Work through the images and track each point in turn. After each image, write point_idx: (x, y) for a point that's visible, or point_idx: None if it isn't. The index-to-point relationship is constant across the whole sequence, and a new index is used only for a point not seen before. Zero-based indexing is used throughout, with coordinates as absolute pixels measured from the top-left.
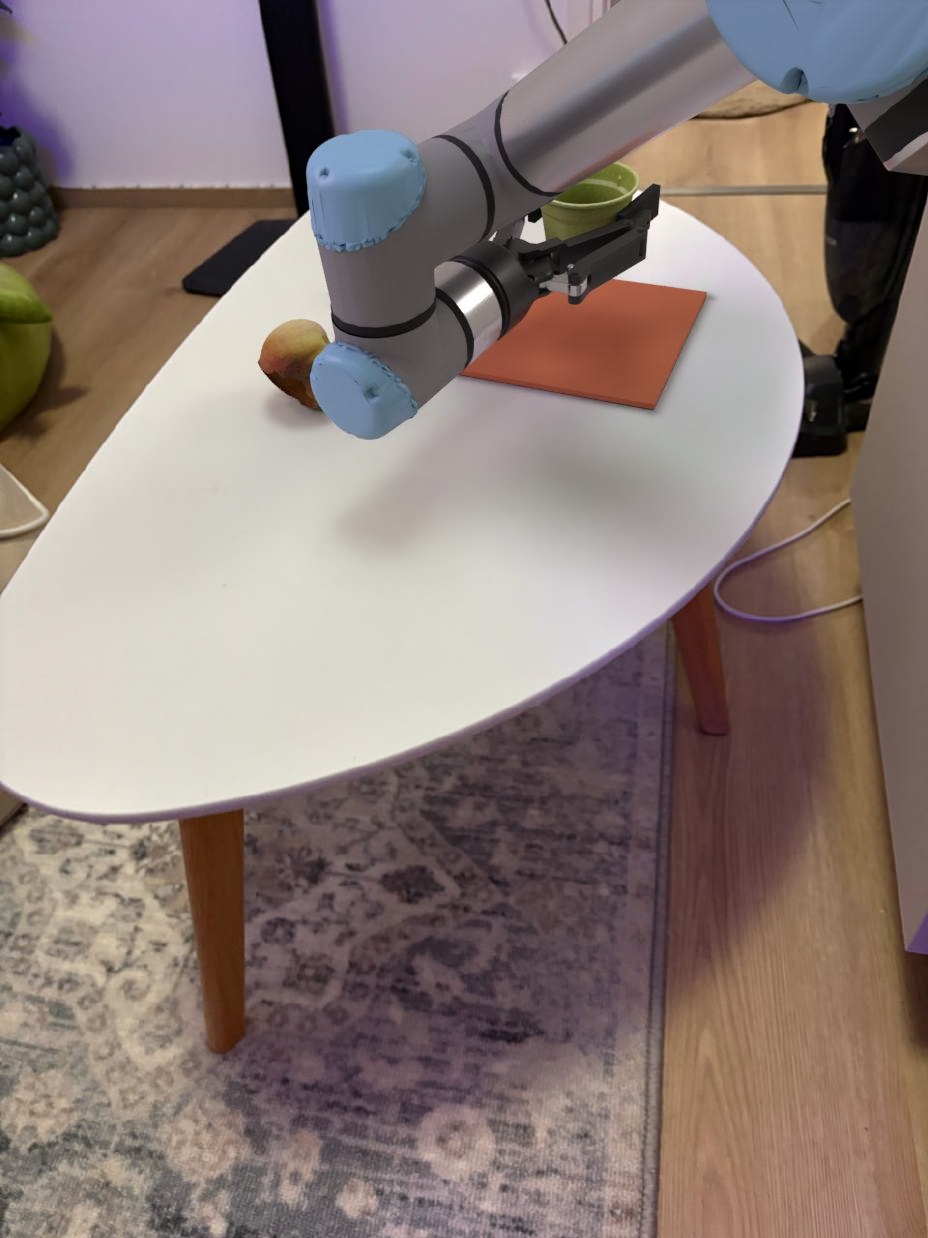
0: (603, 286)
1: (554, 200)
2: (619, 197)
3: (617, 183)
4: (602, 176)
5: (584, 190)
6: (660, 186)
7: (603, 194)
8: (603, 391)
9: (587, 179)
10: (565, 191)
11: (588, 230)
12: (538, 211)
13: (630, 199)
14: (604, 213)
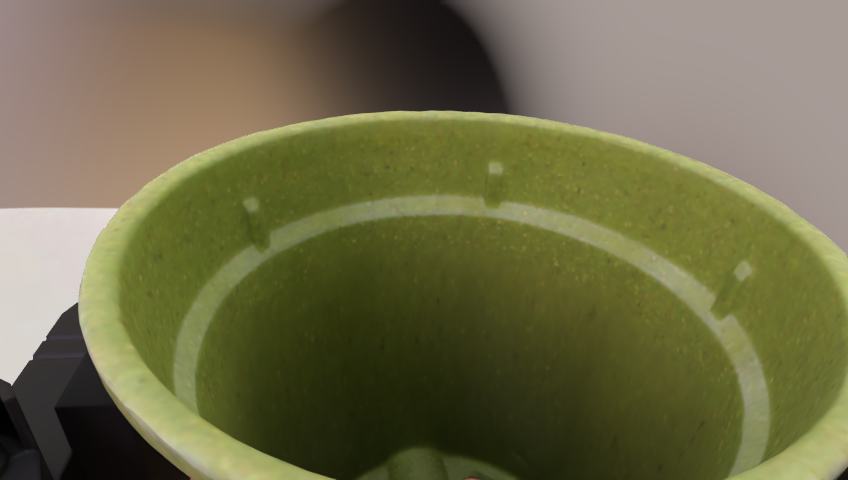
0: None
1: None
2: (838, 264)
3: (485, 195)
4: (406, 183)
5: (340, 256)
6: None
7: (424, 250)
8: None
9: (342, 209)
10: (267, 288)
11: None
12: (173, 465)
13: (726, 249)
14: (797, 396)
